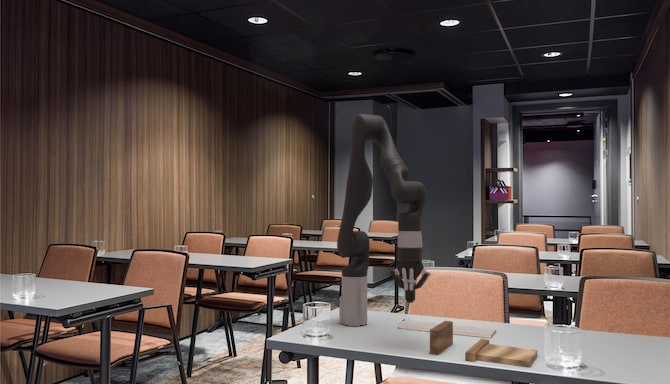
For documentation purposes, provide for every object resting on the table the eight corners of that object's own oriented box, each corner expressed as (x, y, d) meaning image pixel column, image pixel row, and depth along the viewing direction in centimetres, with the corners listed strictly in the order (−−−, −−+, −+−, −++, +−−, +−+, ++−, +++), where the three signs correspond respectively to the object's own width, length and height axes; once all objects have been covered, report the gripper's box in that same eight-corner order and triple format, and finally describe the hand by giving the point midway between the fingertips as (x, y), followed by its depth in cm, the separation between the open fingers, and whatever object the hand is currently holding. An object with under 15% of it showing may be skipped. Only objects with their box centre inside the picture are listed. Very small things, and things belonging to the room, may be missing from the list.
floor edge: (465, 360, 148) (465, 352, 148) (480, 346, 163) (480, 338, 163) (528, 369, 140) (528, 360, 140) (538, 353, 155) (538, 345, 155)
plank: (429, 354, 155) (429, 329, 155) (444, 343, 167) (444, 320, 167) (438, 355, 154) (438, 330, 154) (452, 344, 166) (452, 321, 166)
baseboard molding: (489, 341, 171) (496, 333, 182) (489, 332, 171) (496, 325, 182) (397, 331, 185) (408, 324, 196) (397, 322, 185) (408, 316, 196)
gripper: (385, 246, 166) (385, 302, 165) (426, 247, 159) (426, 306, 159) (394, 244, 173) (395, 299, 172) (434, 245, 166) (435, 302, 165)
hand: (410, 302), depth 165 cm, fingers closed
